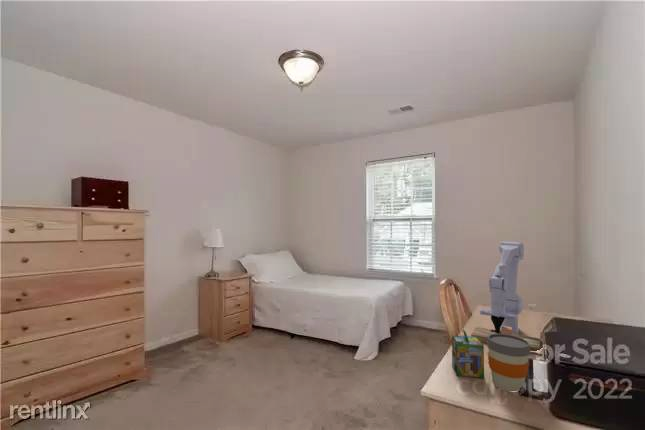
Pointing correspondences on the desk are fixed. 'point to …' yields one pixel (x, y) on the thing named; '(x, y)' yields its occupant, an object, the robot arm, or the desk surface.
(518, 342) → the reusable coffee cup
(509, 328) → the block
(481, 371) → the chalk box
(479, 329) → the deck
